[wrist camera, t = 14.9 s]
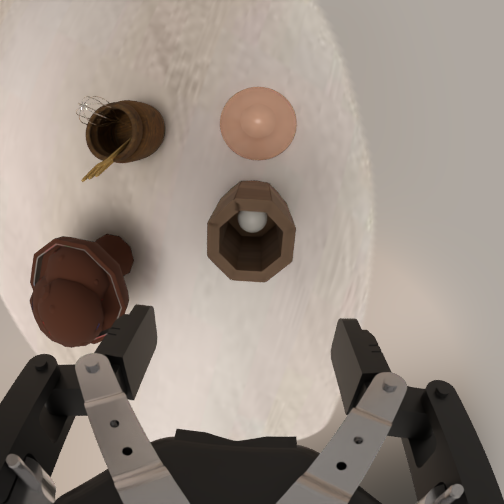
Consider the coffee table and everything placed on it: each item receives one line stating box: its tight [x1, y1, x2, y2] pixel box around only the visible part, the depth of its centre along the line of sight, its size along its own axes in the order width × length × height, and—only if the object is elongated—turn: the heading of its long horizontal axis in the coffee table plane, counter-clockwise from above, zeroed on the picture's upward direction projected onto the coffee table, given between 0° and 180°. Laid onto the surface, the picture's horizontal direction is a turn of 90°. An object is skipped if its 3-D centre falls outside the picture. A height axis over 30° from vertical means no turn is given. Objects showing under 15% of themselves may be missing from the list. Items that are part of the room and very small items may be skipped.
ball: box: [238, 211, 267, 233], centre depth 30 cm, size 3×3×3 cm
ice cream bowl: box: [30, 234, 134, 348], centre depth 27 cm, size 11×11×15 cm
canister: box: [207, 181, 296, 282], centre depth 28 cm, size 6×6×9 cm
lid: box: [220, 87, 296, 160], centre depth 26 cm, size 7×7×6 cm
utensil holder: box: [76, 96, 165, 182], centre depth 23 cm, size 6×6×12 cm
